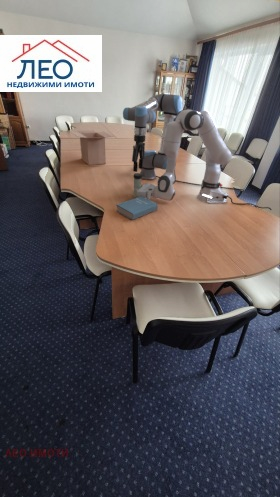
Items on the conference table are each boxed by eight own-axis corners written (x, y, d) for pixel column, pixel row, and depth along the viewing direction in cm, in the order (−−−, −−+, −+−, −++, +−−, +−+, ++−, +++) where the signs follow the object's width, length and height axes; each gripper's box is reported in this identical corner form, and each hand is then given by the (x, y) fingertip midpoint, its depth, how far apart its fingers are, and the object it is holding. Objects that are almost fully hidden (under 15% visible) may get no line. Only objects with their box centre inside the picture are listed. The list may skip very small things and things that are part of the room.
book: (140, 202, 160) (141, 196, 157) (157, 210, 151) (157, 203, 148) (116, 211, 147) (116, 204, 144) (132, 220, 138) (133, 213, 135)
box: (116, 165, 229) (116, 136, 213) (83, 168, 214) (80, 137, 198) (102, 154, 259) (101, 128, 243) (71, 156, 244) (68, 129, 228)
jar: (133, 197, 167) (134, 176, 158) (132, 194, 171) (133, 173, 162) (140, 197, 168) (141, 176, 159) (139, 194, 172) (140, 173, 163)
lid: (133, 179, 159) (134, 175, 157) (132, 176, 163) (133, 173, 162) (142, 179, 160) (142, 175, 158) (141, 176, 164) (141, 173, 163)
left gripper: (141, 132, 154) (139, 165, 167) (127, 136, 138) (126, 172, 151) (151, 133, 151) (148, 167, 165) (138, 137, 136) (136, 174, 149)
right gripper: (158, 182, 168) (141, 179, 172) (148, 191, 153) (130, 187, 157) (157, 190, 172) (140, 187, 176) (147, 200, 157) (130, 196, 161)
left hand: (137, 169), depth 158 cm, fingers open, 8 cm apart
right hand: (135, 187), depth 166 cm, fingers closed on jar, 5 cm apart
